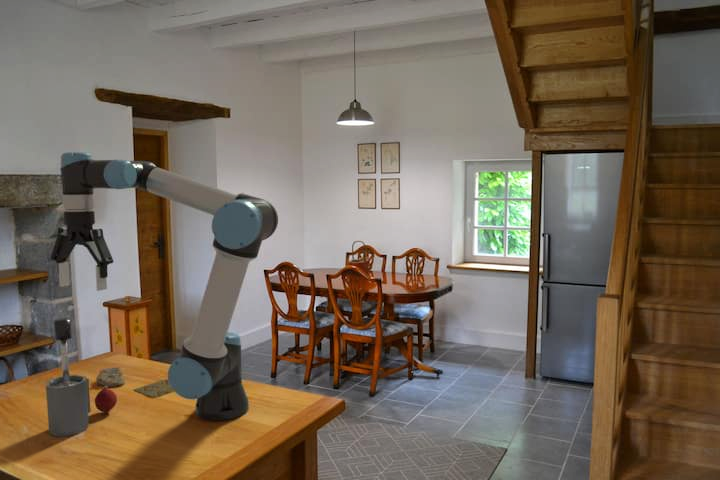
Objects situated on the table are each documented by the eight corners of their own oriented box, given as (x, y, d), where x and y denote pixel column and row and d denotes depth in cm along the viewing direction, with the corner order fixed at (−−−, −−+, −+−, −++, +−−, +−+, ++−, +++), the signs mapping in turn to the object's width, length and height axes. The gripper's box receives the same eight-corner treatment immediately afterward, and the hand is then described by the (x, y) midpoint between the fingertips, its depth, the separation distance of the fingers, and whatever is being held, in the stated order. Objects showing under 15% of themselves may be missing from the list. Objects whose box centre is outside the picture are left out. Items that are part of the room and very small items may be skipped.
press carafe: (101, 421, 160) (98, 375, 158) (68, 439, 149) (64, 389, 148) (76, 416, 163) (73, 371, 162) (41, 433, 153) (38, 384, 151)
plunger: (85, 385, 156) (81, 318, 154) (65, 393, 150) (60, 324, 148) (67, 382, 158) (63, 316, 156) (47, 390, 152) (42, 321, 150)
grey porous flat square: (165, 380, 193) (165, 377, 193) (186, 388, 186) (186, 385, 185) (132, 391, 184) (132, 388, 184) (153, 400, 176) (153, 397, 176)
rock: (93, 382, 191) (97, 386, 183) (96, 364, 192) (100, 367, 184) (120, 384, 196) (125, 387, 187) (124, 366, 197) (128, 369, 188)
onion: (109, 417, 162) (107, 390, 162) (91, 416, 164) (89, 389, 163) (121, 409, 168) (120, 383, 167) (104, 408, 169) (102, 382, 168)
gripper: (125, 210, 153) (128, 288, 155) (57, 208, 162) (61, 281, 164) (102, 212, 146) (106, 294, 148) (33, 209, 155) (38, 286, 158)
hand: (83, 287), depth 156 cm, fingers open, 13 cm apart
